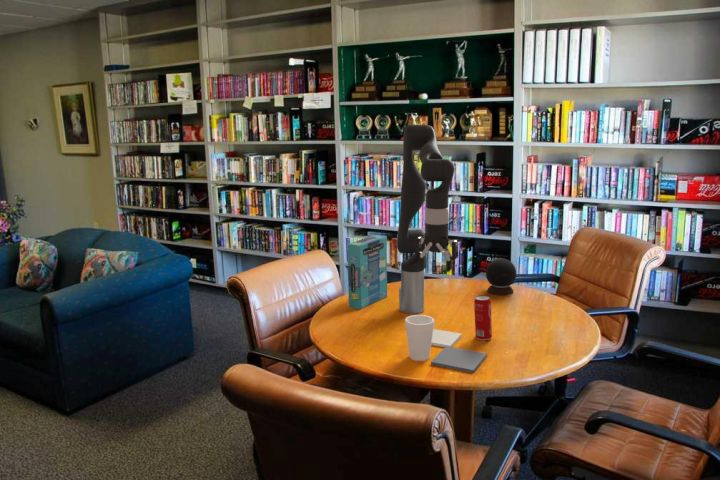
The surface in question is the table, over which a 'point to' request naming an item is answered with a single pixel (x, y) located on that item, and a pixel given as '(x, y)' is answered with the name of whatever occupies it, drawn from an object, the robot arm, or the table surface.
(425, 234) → the robot arm
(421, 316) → the foam cup
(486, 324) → the beverage can
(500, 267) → the ball on round base
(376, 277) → the game box
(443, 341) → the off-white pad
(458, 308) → the table surface
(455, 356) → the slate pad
